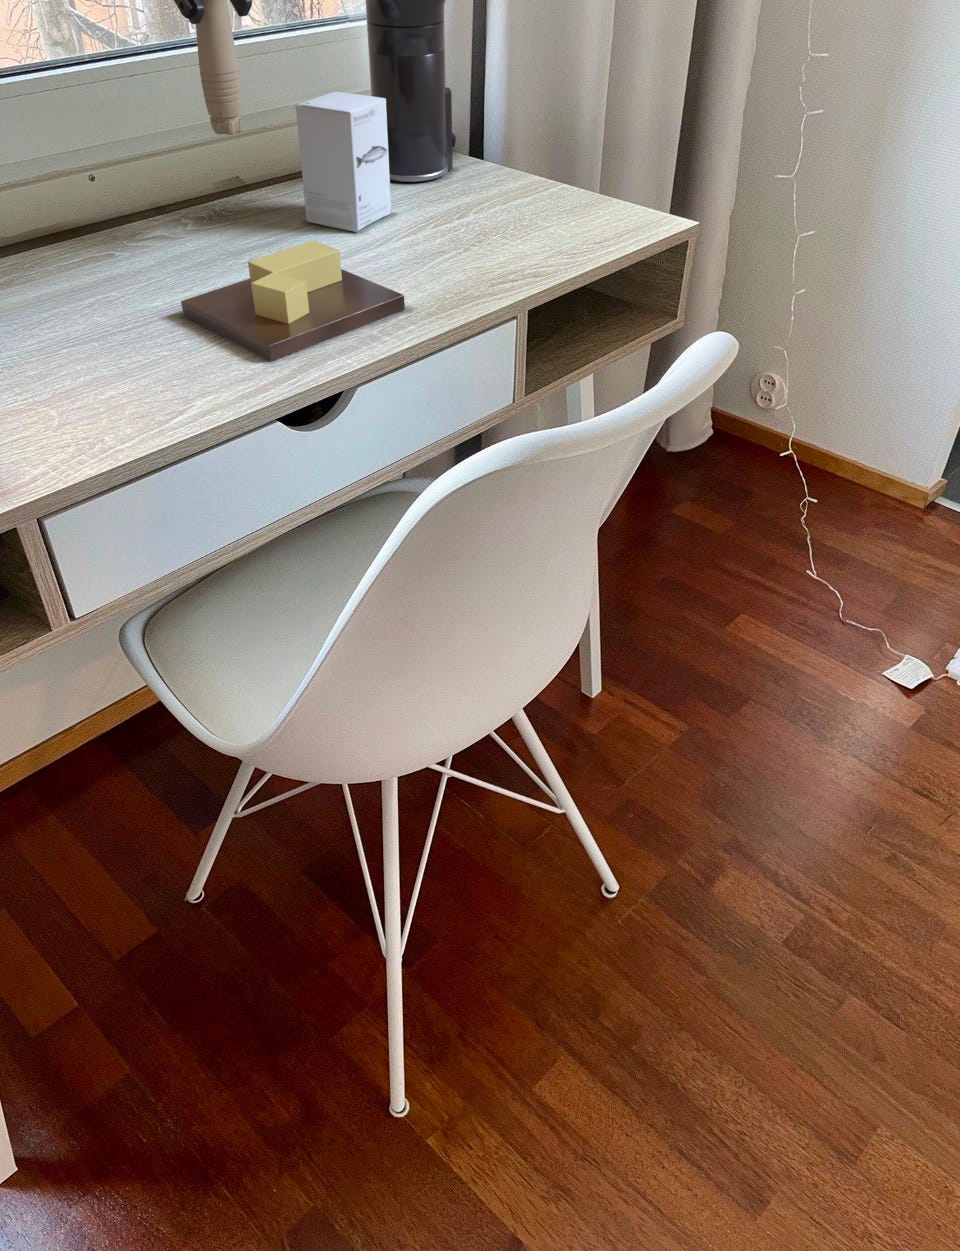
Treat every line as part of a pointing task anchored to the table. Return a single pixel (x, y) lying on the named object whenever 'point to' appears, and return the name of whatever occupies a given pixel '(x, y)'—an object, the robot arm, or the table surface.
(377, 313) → the board
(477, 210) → the table surface
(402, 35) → the robot arm
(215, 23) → the handle
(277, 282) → the butter pat
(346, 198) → the white packaging box
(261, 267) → the butter stick
